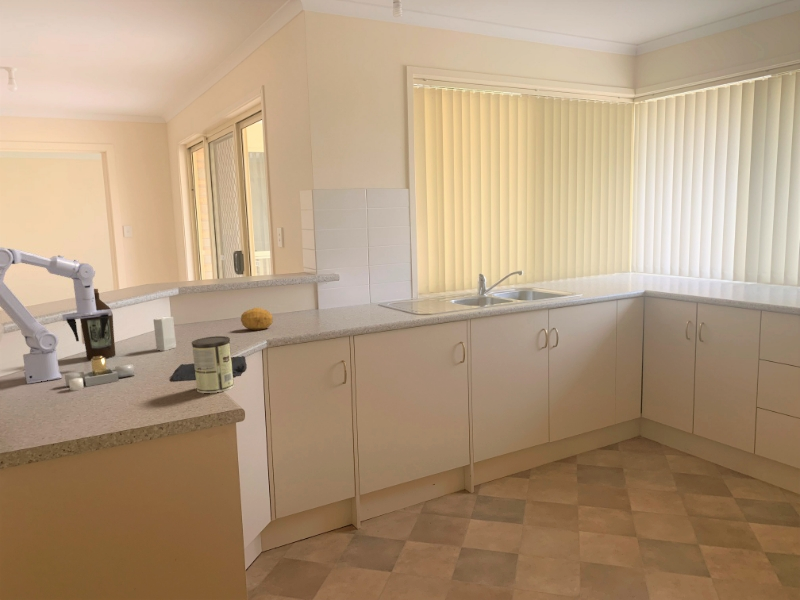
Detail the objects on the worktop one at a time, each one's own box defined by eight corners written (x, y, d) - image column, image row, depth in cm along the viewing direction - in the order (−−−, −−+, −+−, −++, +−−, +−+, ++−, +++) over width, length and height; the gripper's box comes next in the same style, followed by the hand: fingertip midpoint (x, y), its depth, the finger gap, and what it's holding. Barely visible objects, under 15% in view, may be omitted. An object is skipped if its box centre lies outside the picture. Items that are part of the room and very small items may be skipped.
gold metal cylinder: (93, 383, 185) (90, 358, 183) (93, 380, 188) (90, 356, 187) (108, 381, 186) (105, 356, 185) (107, 378, 190) (104, 354, 189)
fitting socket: (67, 389, 178) (65, 378, 178) (65, 383, 186) (63, 372, 185) (136, 377, 188) (134, 366, 188) (131, 372, 196) (130, 361, 195)
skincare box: (168, 347, 233) (164, 316, 231) (177, 347, 231) (173, 316, 229) (155, 350, 227) (152, 319, 226) (164, 351, 226) (161, 319, 224)
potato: (270, 308, 256) (271, 303, 265) (238, 312, 253) (239, 307, 262) (273, 330, 258) (274, 324, 267) (241, 334, 256) (243, 328, 265)
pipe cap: (70, 391, 176) (69, 381, 176) (69, 389, 179) (68, 379, 179) (84, 389, 178) (83, 379, 178) (83, 386, 181) (82, 377, 181)
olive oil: (83, 357, 223) (74, 289, 219) (114, 352, 229) (107, 286, 225) (87, 362, 214) (78, 292, 210) (119, 357, 220) (111, 288, 216)
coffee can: (202, 384, 177) (197, 337, 175) (237, 382, 177) (233, 335, 175) (191, 394, 167) (186, 344, 165) (229, 392, 167) (224, 342, 165)
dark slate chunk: (181, 371, 196) (179, 356, 196) (250, 366, 198) (248, 352, 197) (167, 383, 181) (165, 368, 180) (241, 378, 183) (240, 363, 182)
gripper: (61, 303, 194) (66, 344, 196) (110, 297, 202) (115, 337, 204) (59, 300, 200) (65, 341, 202) (108, 295, 208) (112, 334, 210)
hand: (90, 339), depth 203 cm, fingers open, 7 cm apart
